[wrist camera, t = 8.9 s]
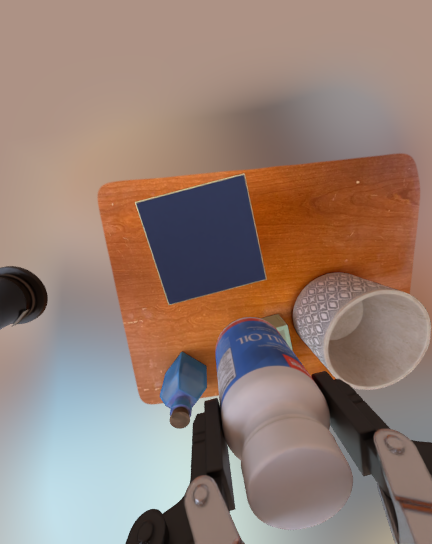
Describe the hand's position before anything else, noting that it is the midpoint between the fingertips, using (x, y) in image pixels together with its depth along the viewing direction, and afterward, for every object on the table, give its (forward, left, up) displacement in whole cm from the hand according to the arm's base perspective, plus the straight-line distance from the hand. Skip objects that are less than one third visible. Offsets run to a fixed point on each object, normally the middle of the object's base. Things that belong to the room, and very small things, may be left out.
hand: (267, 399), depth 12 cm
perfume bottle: (-12, -18, -30) cm, 37 cm away
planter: (+20, -13, -30) cm, 38 cm away
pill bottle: (0, 0, -6) cm, 6 cm away
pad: (-1, +8, -14) cm, 16 cm away
